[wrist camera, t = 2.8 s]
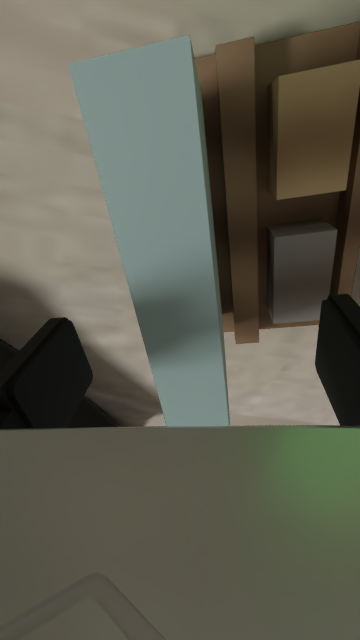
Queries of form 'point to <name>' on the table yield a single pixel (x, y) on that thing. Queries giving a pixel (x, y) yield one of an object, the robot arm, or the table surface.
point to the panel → (162, 216)
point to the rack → (251, 170)
